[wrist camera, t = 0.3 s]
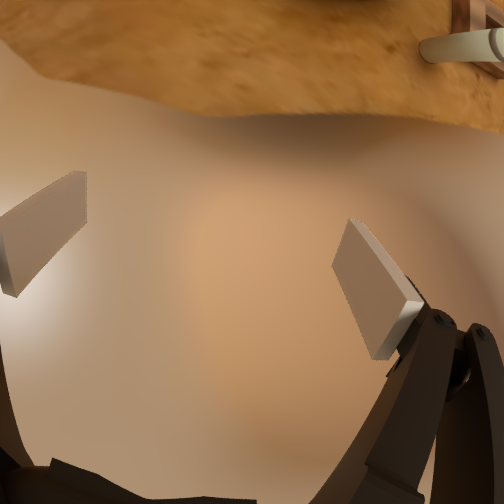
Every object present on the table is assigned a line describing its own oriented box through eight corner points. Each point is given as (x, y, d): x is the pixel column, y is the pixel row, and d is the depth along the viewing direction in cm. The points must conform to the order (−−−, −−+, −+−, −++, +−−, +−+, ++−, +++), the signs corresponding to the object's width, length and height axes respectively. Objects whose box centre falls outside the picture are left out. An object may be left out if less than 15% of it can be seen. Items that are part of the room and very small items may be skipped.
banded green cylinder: (419, 34, 30) (500, 20, 14) (440, 45, 31) (523, 39, 15) (417, 57, 32) (500, 52, 16) (438, 67, 32) (522, 69, 17)
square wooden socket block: (452, -8, 25) (469, -13, 21) (500, 24, 26) (517, 23, 22) (450, 50, 31) (469, 48, 26) (497, 78, 32) (516, 80, 27)
